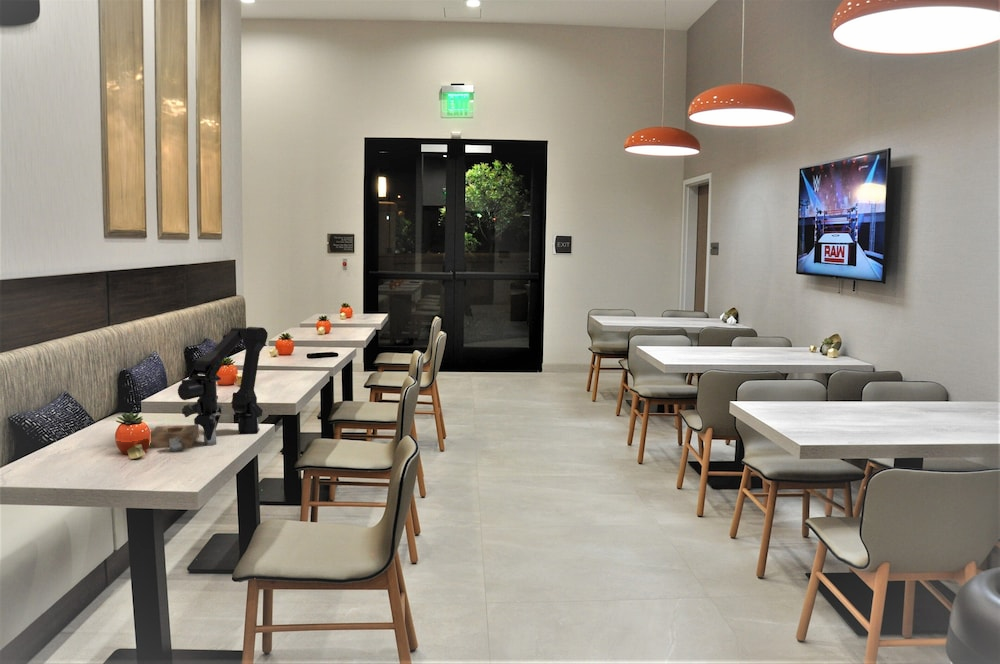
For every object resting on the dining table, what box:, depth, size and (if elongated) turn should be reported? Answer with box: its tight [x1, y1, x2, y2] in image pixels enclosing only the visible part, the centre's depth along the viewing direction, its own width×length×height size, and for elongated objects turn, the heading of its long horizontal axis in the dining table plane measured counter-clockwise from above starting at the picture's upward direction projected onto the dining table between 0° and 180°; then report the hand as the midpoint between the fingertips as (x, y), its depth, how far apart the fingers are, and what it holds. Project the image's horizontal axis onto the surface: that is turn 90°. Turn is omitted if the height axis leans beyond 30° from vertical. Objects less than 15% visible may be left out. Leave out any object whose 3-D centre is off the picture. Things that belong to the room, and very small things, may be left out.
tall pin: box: [203, 425, 218, 447], centre depth 267 cm, size 4×4×8 cm
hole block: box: [148, 424, 200, 449], centre depth 270 cm, size 14×12×4 cm
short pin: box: [168, 437, 183, 453], centre depth 260 cm, size 4×4×4 cm
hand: (210, 438), depth 267 cm, fingers closed on tall pin, 4 cm apart
